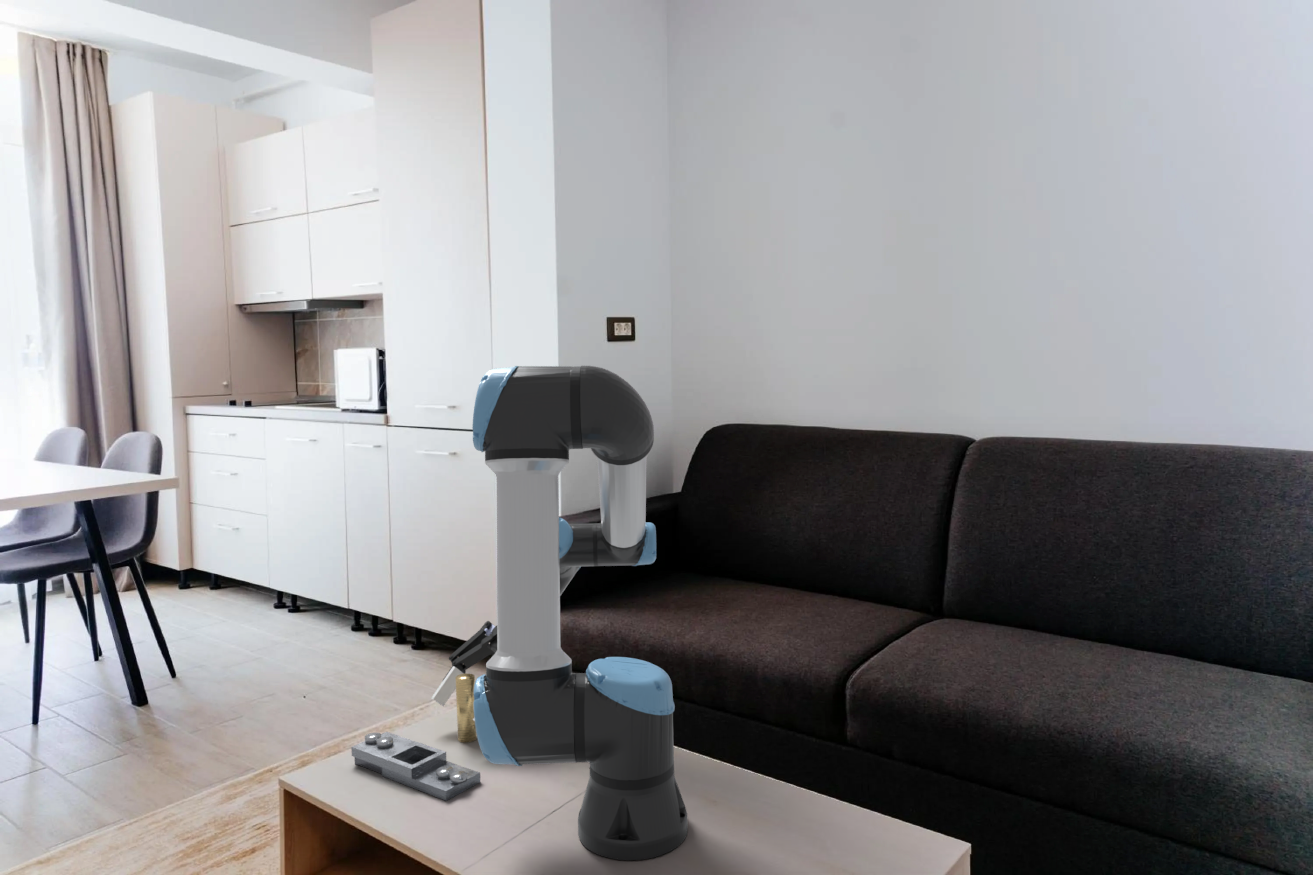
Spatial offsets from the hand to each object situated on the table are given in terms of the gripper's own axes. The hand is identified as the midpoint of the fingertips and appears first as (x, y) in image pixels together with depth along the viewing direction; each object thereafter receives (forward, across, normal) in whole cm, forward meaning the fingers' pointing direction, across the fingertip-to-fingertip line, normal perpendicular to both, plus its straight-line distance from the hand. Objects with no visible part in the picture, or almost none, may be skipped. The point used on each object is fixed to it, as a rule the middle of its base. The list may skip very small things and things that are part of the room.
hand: (457, 712), depth 150 cm
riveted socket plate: (+11, -6, +4) cm, 13 cm away
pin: (+2, 0, -5) cm, 5 cm away
